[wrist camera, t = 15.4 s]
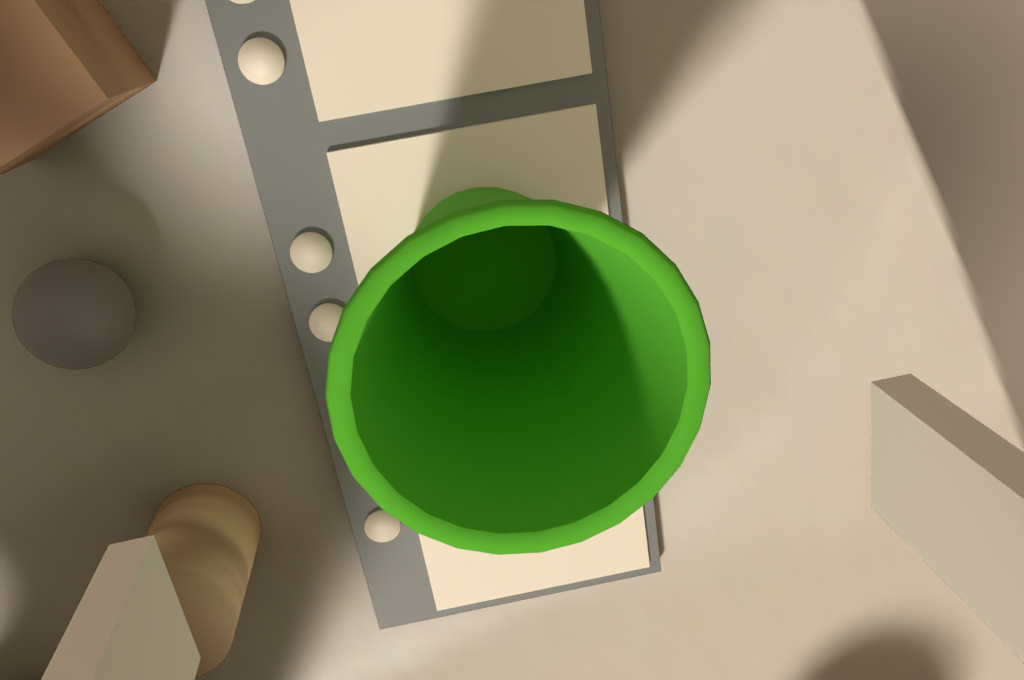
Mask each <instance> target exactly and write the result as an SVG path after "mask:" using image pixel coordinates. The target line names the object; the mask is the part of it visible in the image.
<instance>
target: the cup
mask: <svg viewBox="0 0 1024 680" xmlns="http://www.w3.org/2000/svg"><path fill="white" fill-rule="evenodd" d="M710 385H711V374H710V341H709V337H708V334H707V330H706V327H705V323H704V320H703V316H702V313H701V309H700V306H699V302H698V300H697V299H696V297H695V295H694V294H693V292H692V290H691V289H690V287H689V285H688V284H687V282H686V281H685V279H684V277H683V276H682V274H681V272H680V271H679V269H678V267H677V266H676V264H675V263H674V262H672V261H671V260H670V259H669V258H668V257H667V256H666V255H665V254H664V253H663V252H662V251H661V250H660V249H659V248H658V247H657V246H655V245H654V244H653V243H652V242H651V241H650V240H649V239H648V238H647V237H646V236H645V235H644V234H643V233H641V232H639V231H637V230H635V229H633V228H631V227H630V226H628V225H626V224H624V223H622V222H620V221H618V220H617V219H615V218H613V217H611V216H609V215H607V214H605V213H603V212H602V211H598V210H594V209H590V208H586V207H582V206H578V205H574V204H570V203H565V202H561V201H557V200H553V199H548V200H533V199H531V198H528V197H526V196H523V195H521V194H518V193H516V192H513V191H509V190H505V189H501V188H497V187H476V188H472V189H468V190H464V191H460V192H457V193H455V194H453V195H451V196H449V197H447V198H446V199H444V200H442V201H440V202H439V203H438V204H437V205H436V206H435V207H434V208H432V209H431V210H430V211H429V212H428V213H427V214H426V215H425V217H424V218H423V220H422V221H421V223H420V224H419V225H418V227H417V228H416V230H415V231H414V233H412V234H410V235H408V236H407V237H406V238H404V239H403V240H402V241H401V242H400V243H399V244H398V245H397V246H395V247H394V248H393V249H392V250H391V251H390V252H389V253H388V254H386V255H385V256H384V257H383V258H382V259H381V260H380V261H378V262H377V263H376V264H375V265H374V266H373V267H372V268H371V269H370V270H369V271H368V273H367V274H366V276H365V277H364V279H363V280H362V282H361V283H360V285H359V286H358V288H357V289H356V290H355V292H354V293H353V295H352V296H351V298H350V299H349V301H348V302H347V304H346V305H345V307H344V308H343V310H342V313H341V316H340V319H339V322H338V325H337V328H336V331H335V333H334V336H333V339H332V342H331V345H330V348H329V351H328V358H327V373H326V387H325V399H326V404H327V409H328V414H329V419H330V424H331V429H332V433H333V438H334V440H335V442H336V444H337V446H338V448H339V450H340V452H341V454H342V456H343V458H344V460H345V462H346V464H347V466H348V468H349V470H350V472H351V474H352V476H353V477H354V478H355V479H356V480H357V481H358V483H359V484H360V485H361V486H362V487H363V488H364V489H365V490H366V492H367V493H368V494H369V495H370V496H371V497H372V498H373V499H374V501H375V502H376V503H377V504H378V505H379V506H380V507H381V508H382V509H383V510H385V511H386V512H387V513H389V514H390V515H392V516H393V517H395V518H396V519H398V520H399V521H401V522H402V523H404V524H405V525H407V526H408V527H409V528H411V529H412V530H414V531H415V532H417V533H418V534H421V535H424V536H426V537H429V538H431V539H434V540H437V541H439V542H442V543H444V544H447V545H449V546H452V547H455V548H458V549H464V550H471V551H477V552H484V553H490V554H496V555H504V554H523V553H541V552H545V551H549V550H553V549H557V548H560V547H564V546H568V545H572V544H576V543H580V542H583V541H585V540H587V539H589V538H591V537H593V536H595V535H597V534H599V533H601V532H603V531H605V530H608V529H610V528H612V527H614V526H616V525H618V524H620V523H621V522H623V521H624V520H625V519H626V518H628V517H629V516H630V515H632V514H633V513H634V512H635V511H637V510H638V509H639V508H641V507H642V506H643V505H645V504H646V503H647V502H648V501H650V500H651V499H652V498H654V496H655V495H656V494H657V493H658V492H659V490H660V489H661V488H662V487H663V486H664V485H665V483H666V482H667V481H668V480H669V479H670V478H671V476H672V475H673V474H674V473H675V472H676V470H677V469H678V468H679V467H680V466H681V464H682V462H683V460H684V458H685V456H686V454H687V452H688V450H689V448H690V446H691V444H692V442H693V441H694V439H695V437H696V435H697V433H698V431H699V429H700V426H701V422H702V418H703V414H704V410H705V406H706V401H707V397H708V393H709V389H710Z"/></svg>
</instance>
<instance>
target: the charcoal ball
mask: <svg viewBox="0 0 1024 680" xmlns="http://www.w3.org/2000/svg"><path fill="white" fill-rule="evenodd" d="M12 317H13V323H14V327H15V330H16V333H17V335H18V337H19V339H20V341H21V342H22V344H23V345H24V346H25V347H26V348H27V350H28V351H30V352H31V353H32V354H33V355H34V356H36V357H37V358H38V359H40V360H42V361H44V362H46V363H48V364H50V365H53V366H56V367H60V368H66V369H84V368H90V367H94V366H97V365H100V364H102V363H104V362H106V361H108V360H110V359H112V358H113V357H114V356H116V355H117V354H118V353H119V352H120V351H121V350H122V349H123V348H124V347H125V346H126V344H127V343H128V341H129V340H130V338H131V336H132V334H133V331H134V328H135V323H136V306H135V302H134V298H133V296H132V293H131V291H130V289H129V288H128V286H127V285H126V283H125V282H124V281H123V280H122V279H121V278H120V277H119V276H118V275H117V274H116V273H115V272H113V271H112V270H110V269H109V268H107V267H105V266H103V265H101V264H99V263H96V262H93V261H89V260H84V259H62V260H58V261H54V262H51V263H48V264H46V265H44V266H42V267H40V268H38V269H37V270H35V271H34V272H33V273H31V274H30V275H29V276H28V277H27V278H26V279H25V281H24V282H23V283H22V284H21V286H20V287H19V289H18V291H17V294H16V296H15V299H14V302H13V310H12Z"/></svg>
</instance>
